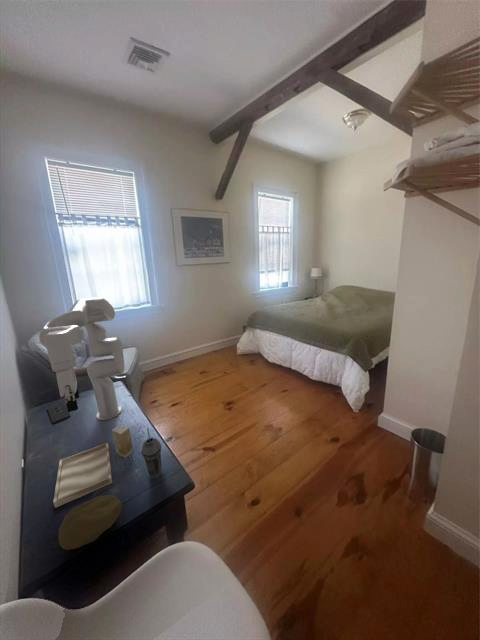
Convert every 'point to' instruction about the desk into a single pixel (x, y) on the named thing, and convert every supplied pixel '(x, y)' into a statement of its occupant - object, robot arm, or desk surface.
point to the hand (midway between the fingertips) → (74, 404)
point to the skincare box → (122, 440)
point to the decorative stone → (88, 521)
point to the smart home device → (58, 412)
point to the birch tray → (82, 474)
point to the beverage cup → (152, 456)
